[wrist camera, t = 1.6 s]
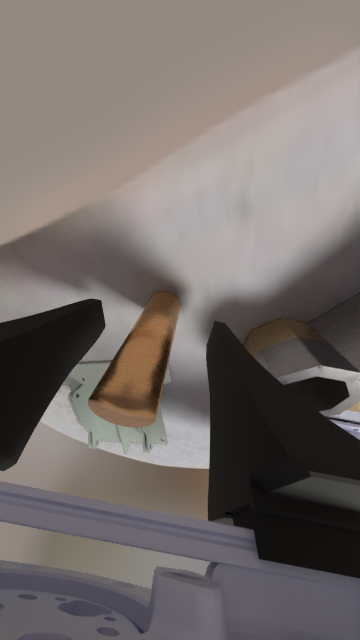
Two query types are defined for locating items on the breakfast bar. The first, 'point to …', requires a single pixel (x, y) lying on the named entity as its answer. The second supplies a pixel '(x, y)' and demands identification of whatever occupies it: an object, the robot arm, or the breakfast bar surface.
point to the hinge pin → (139, 367)
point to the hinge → (315, 357)
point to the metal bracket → (100, 427)
